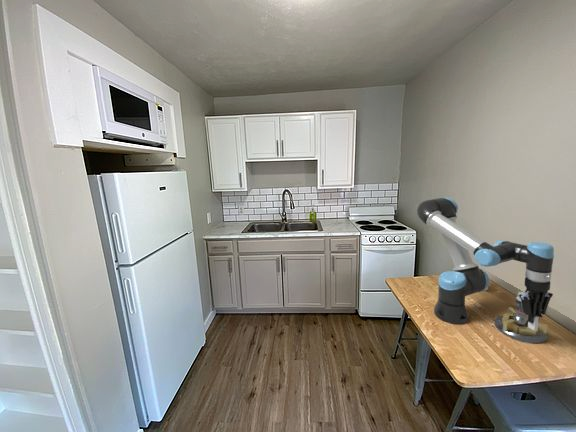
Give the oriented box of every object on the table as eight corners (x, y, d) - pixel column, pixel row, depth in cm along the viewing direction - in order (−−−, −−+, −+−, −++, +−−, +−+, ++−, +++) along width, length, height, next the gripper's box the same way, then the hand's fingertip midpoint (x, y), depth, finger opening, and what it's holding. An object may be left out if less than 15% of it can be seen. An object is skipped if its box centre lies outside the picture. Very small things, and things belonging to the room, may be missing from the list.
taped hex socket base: (499, 329, 113) (500, 321, 112) (505, 313, 123) (506, 305, 122) (545, 344, 102) (546, 335, 101) (547, 326, 112) (548, 317, 111)
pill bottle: (513, 307, 130) (515, 290, 128) (527, 309, 128) (529, 292, 126) (517, 313, 125) (518, 296, 123) (531, 315, 123) (534, 298, 121)
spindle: (514, 331, 113) (515, 317, 112) (511, 325, 117) (512, 312, 116) (527, 334, 111) (529, 319, 109) (523, 328, 115) (525, 314, 113)
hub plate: (499, 337, 111) (500, 334, 110) (490, 315, 126) (490, 312, 126) (554, 348, 102) (555, 344, 102) (537, 322, 117) (537, 319, 117)
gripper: (532, 285, 97) (527, 336, 102) (562, 281, 98) (556, 332, 102) (514, 277, 105) (510, 325, 109) (542, 273, 105) (537, 321, 110)
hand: (532, 328), depth 106 cm, fingers closed
